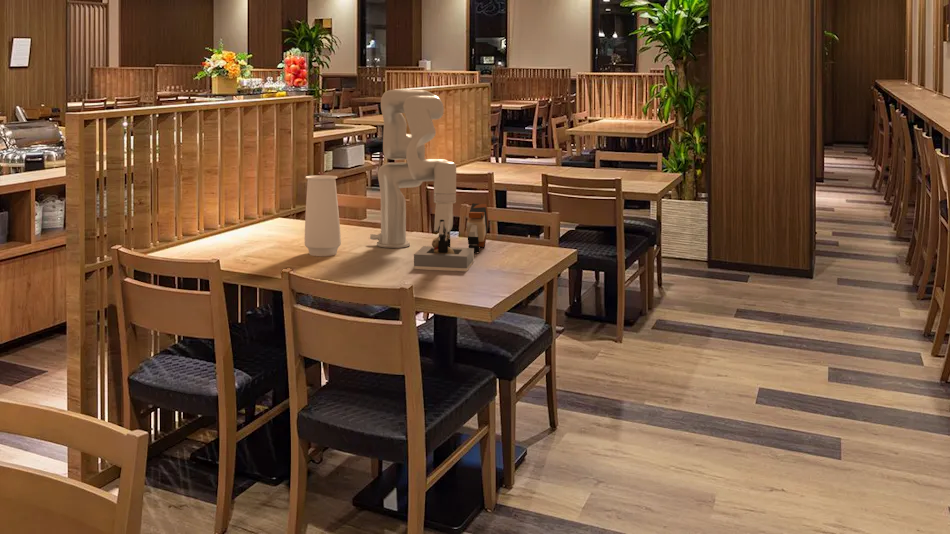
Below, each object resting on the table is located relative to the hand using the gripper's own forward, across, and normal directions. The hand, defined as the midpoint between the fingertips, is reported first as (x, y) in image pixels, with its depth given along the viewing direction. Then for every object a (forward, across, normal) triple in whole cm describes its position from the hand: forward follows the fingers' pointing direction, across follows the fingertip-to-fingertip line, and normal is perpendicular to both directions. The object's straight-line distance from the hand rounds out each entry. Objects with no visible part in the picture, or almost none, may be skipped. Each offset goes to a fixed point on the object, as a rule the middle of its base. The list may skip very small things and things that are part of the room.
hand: (444, 250), depth 306 cm
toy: (+6, -34, +6) cm, 35 cm away
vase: (+6, -12, -47) cm, 49 cm away
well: (+5, 0, 0) cm, 5 cm away
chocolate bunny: (+3, 0, 0) cm, 3 cm away
